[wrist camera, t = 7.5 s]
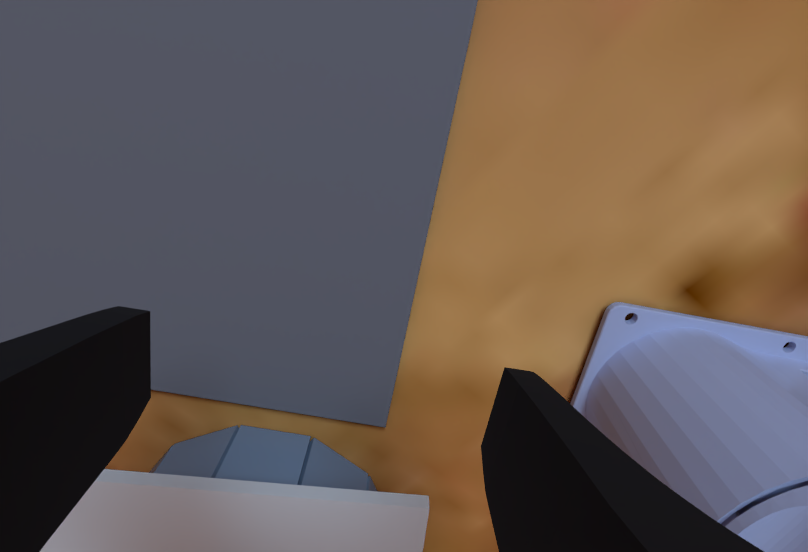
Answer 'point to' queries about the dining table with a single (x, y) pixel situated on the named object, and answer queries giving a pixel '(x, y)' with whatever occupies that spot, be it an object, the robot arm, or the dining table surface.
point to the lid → (236, 517)
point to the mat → (229, 183)
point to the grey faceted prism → (263, 459)
